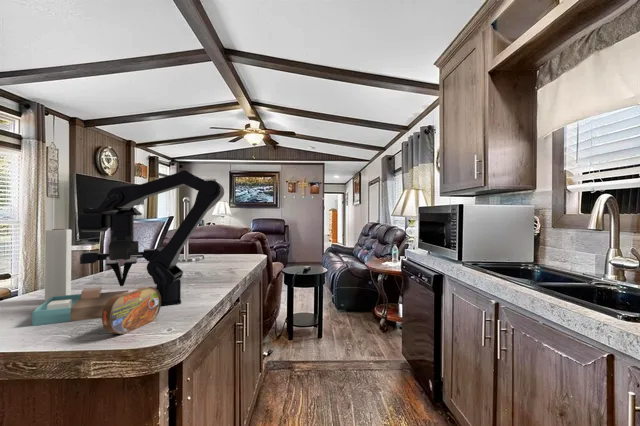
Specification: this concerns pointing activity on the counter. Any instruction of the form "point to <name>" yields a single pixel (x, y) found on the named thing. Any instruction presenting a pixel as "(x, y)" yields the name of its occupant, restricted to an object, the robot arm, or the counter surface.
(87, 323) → the counter surface
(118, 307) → the tin
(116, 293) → the walnut plate
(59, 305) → the cream tile
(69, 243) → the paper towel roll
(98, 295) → the terracotta block
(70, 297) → the tray
